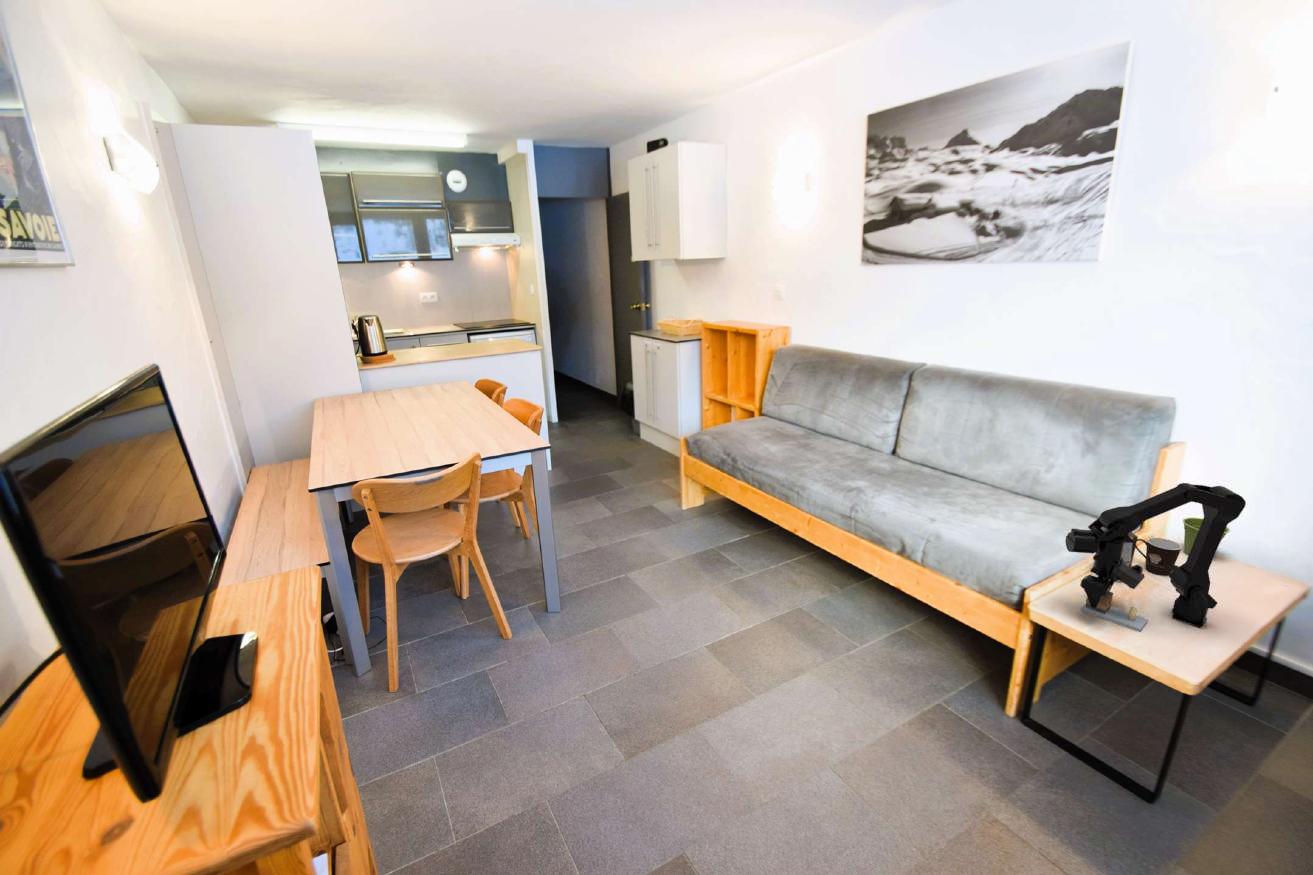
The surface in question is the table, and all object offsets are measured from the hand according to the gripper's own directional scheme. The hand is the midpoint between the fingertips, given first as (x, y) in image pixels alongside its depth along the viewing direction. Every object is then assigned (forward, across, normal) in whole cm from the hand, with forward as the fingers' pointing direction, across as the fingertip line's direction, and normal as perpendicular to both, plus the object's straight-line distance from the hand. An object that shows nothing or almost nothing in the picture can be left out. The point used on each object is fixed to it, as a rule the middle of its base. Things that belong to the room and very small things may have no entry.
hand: (1099, 601), depth 171 cm
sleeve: (+2, 0, 0) cm, 2 cm away
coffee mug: (+3, +41, -4) cm, 41 cm away
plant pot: (+3, +63, -11) cm, 64 cm away
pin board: (+3, 0, -4) cm, 5 cm away
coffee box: (+3, +26, +4) cm, 27 cm away
